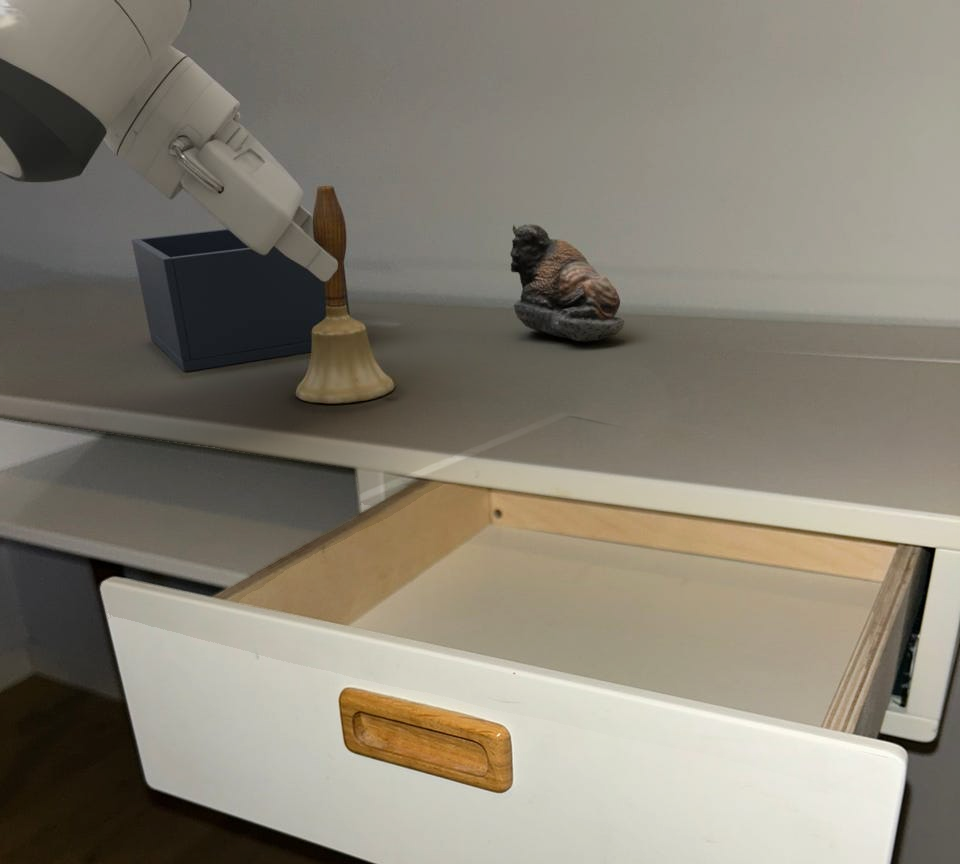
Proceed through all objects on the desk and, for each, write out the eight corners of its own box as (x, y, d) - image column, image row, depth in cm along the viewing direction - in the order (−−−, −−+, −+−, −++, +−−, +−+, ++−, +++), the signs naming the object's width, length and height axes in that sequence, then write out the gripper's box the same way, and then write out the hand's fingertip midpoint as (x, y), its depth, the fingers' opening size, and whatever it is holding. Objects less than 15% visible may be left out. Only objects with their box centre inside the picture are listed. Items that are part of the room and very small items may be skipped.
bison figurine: (637, 338, 101) (638, 224, 96) (590, 353, 97) (590, 236, 92) (540, 324, 108) (537, 219, 104) (493, 338, 104) (488, 229, 99)
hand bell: (349, 373, 95) (327, 179, 87) (414, 386, 90) (397, 181, 82) (275, 395, 90) (245, 191, 82) (341, 410, 85) (315, 194, 77)
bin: (184, 372, 99) (163, 259, 94) (151, 339, 112) (131, 239, 107) (353, 345, 105) (341, 237, 100) (302, 317, 118) (290, 221, 113)
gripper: (192, 103, 69) (359, 250, 75) (226, 98, 87) (359, 217, 93) (137, 182, 71) (304, 321, 76) (181, 162, 89) (314, 274, 94)
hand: (334, 263), depth 85 cm, fingers open, 8 cm apart
